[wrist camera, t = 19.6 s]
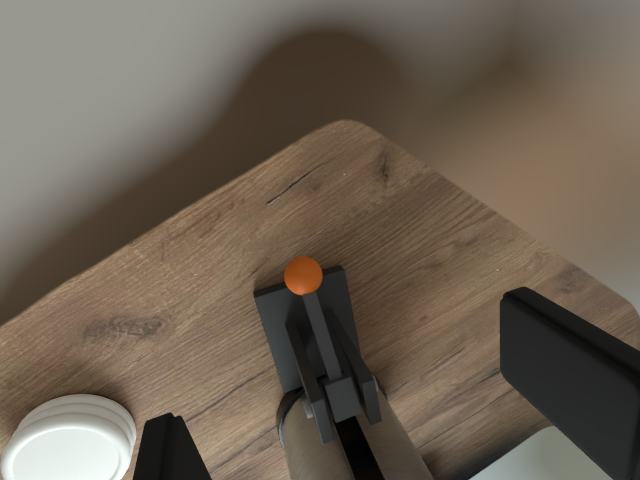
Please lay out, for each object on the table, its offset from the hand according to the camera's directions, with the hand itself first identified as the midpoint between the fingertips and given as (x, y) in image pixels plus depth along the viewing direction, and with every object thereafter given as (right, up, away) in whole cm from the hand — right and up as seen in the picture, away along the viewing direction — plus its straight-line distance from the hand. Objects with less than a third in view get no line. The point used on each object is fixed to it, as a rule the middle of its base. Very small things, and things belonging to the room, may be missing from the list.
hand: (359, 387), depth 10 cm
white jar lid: (-24, -14, +25) cm, 38 cm away
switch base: (-2, -5, +28) cm, 29 cm away
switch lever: (-1, -4, +21) cm, 22 cm away
